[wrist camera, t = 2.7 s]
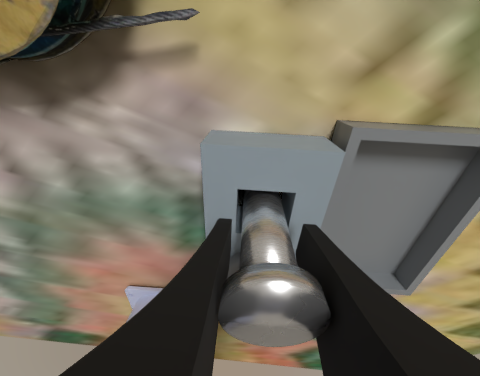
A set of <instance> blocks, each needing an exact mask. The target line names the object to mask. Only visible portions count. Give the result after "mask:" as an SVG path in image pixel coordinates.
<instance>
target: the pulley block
mask: <svg viewBox="0 0 480 376" xmlns="http://www.w3.org/2000/svg"><path fill="white" fill-rule="evenodd" d="M109 3H110V0H0V65H1V64H3V63H6V62H8V61H10V60H9V59H11V60H15V59H18V60H24V61H41V60H47V59H52V58H54V57H57V56H59V55H61V54H64V53H66V52H68V51H70V50H72V49H73V48H74V47H76V46H77V45H78V44H79V43H80V42H82V41H83V40H84V39H85V38H86V37H88V36H89V35H90V33H91V32H93V31H100V30H106V29H113V28H122V27H131V26H140V25H148V24H152V23H157V22H162V21H171V20H187V19H189V18H191V17H193V16H195V15H196V14H198V13H200V12H198V11H196V10H194V9H192V8H191V9H184V10H176V11H165V12H157V13H152V14H149V15H145V16H121V15H112V16H104V17H102V16H103V14H104V13H105V12H106V9H107V7H108V5H109Z"/></svg>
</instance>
